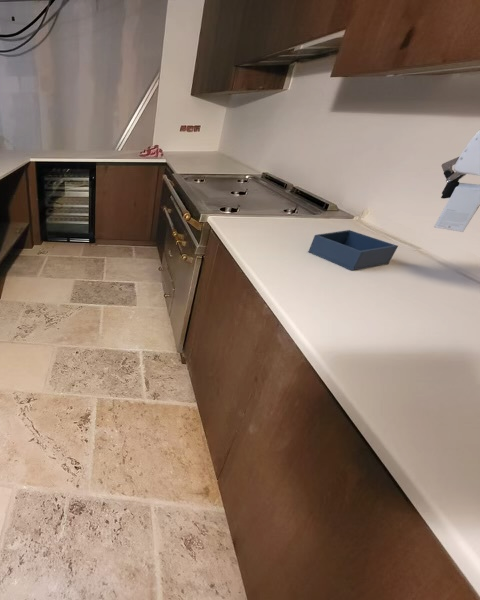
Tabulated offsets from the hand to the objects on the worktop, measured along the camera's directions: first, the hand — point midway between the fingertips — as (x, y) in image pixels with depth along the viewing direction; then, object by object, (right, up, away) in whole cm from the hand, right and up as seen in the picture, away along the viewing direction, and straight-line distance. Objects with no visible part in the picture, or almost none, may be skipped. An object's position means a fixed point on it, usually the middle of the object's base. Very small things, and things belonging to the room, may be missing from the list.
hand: (465, 200), depth 82 cm
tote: (-15, -12, +18) cm, 27 cm away
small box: (0, -6, +4) cm, 7 cm away
